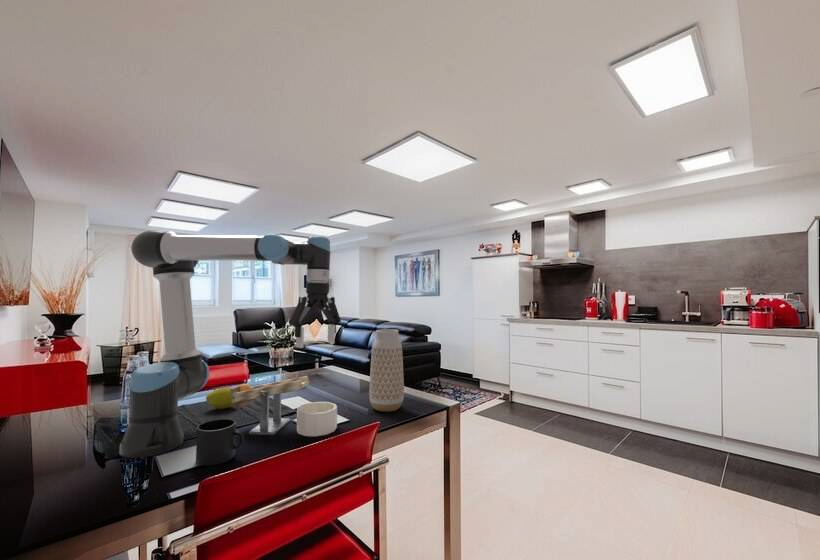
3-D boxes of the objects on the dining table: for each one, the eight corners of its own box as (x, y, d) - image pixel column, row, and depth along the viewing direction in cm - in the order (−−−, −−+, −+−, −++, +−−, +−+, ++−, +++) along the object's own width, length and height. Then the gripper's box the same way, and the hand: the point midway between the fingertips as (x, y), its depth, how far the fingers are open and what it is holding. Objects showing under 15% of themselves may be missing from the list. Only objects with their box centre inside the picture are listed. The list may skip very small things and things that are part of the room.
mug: (236, 465, 93) (237, 430, 93) (188, 467, 92) (189, 431, 92) (249, 449, 102) (250, 417, 103) (206, 451, 101) (207, 418, 101)
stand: (249, 434, 113) (250, 392, 114) (268, 420, 126) (269, 382, 127) (273, 435, 113) (274, 393, 113) (290, 420, 126) (290, 383, 126)
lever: (233, 409, 117) (230, 389, 118) (256, 396, 132) (253, 378, 133) (303, 396, 116) (299, 375, 116) (318, 384, 131) (314, 366, 131)
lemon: (239, 404, 144) (239, 384, 144) (234, 410, 136) (235, 389, 137) (209, 406, 141) (209, 386, 141) (203, 413, 134) (203, 391, 134)
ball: (238, 396, 119) (236, 386, 119) (243, 393, 123) (242, 383, 123) (248, 394, 119) (246, 384, 119) (253, 392, 122) (251, 381, 123)
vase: (410, 406, 143) (410, 329, 144) (390, 416, 131) (391, 332, 133) (382, 400, 150) (383, 328, 152) (361, 409, 139) (362, 330, 140)
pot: (290, 435, 113) (291, 413, 113) (305, 421, 125) (305, 401, 125) (329, 436, 112) (330, 414, 112) (340, 422, 124) (340, 402, 124)
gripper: (294, 280, 108) (292, 350, 107) (351, 283, 129) (349, 342, 128) (279, 280, 112) (277, 348, 112) (336, 283, 133) (335, 340, 132)
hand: (316, 345), depth 120 cm, fingers open, 13 cm apart
